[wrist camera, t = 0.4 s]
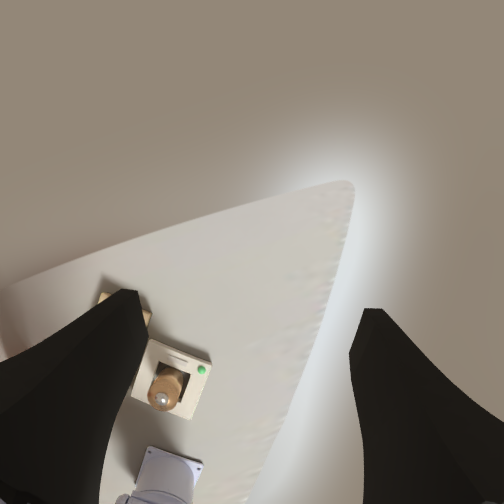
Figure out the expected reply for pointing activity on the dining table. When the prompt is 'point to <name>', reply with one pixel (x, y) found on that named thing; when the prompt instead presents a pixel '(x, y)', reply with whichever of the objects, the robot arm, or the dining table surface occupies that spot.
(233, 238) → the dining table surface
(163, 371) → the battery cell
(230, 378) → the dining table surface
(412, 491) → the robot arm
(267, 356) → the dining table surface
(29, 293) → the dining table surface
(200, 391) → the white square frame
